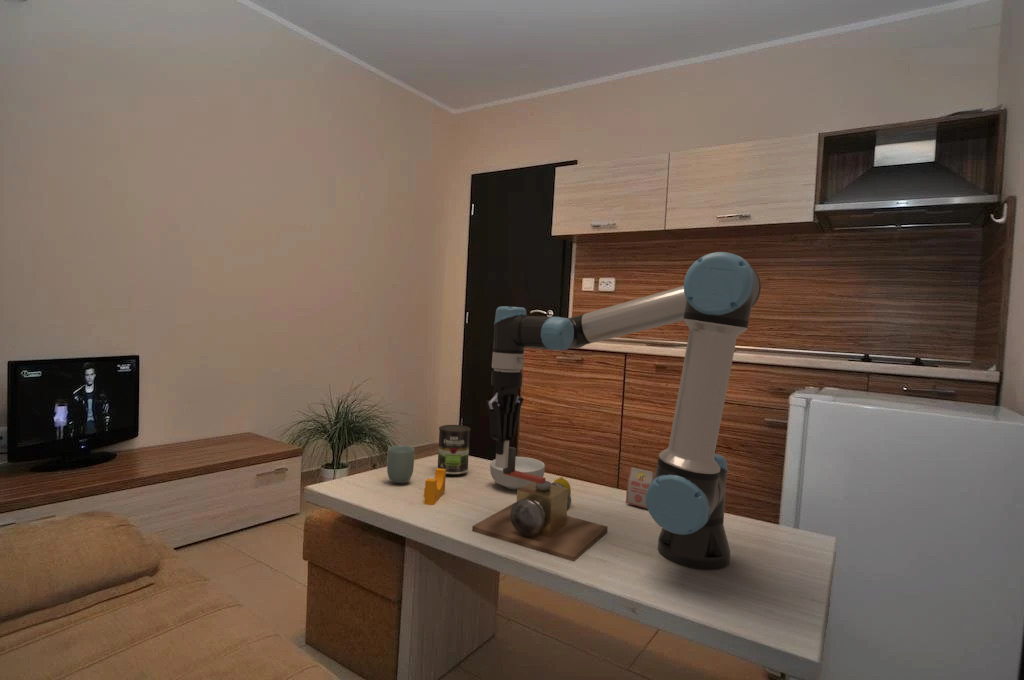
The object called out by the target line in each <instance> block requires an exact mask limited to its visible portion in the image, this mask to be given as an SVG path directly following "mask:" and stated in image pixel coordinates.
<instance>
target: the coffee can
mask: <svg viewBox="0 0 1024 680" xmlns="http://www.w3.org/2000/svg"><path fill="white" fill-rule="evenodd" d="M438 430H439V432H438V433H439V434H438V435H439V436H438V449H437V451H438V453H437V468H441V469H446V475H461V474H465V473H468V471H469V455H470V438H471V437H470V436H471V427H469V426H466V425H461V424H444V425H441V426H439V427H438Z"/></svg>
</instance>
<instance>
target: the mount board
mask: <svg viewBox="0 0 1024 680" xmlns="http://www.w3.org/2000/svg"><path fill="white" fill-rule="evenodd" d="M516 502H517V501H515V502H514V503H512V504H510V505H508V506H506V507H504V508H503V509H501V510H499V511H497V512H495V513H493V514H492V515H490V516H488V517H486V518H484V519H482V520H481V521H479V522H477V523H475V524H473V525H472V527H471V532H474V533H476V532H477V534H480V535H484V536H487V537H490V538H495V539H496V540H500V541H503V542H507V543H510V544H514V545H517V546H521V547H525V548H527V549H529V550H530V549H531V550H534V551H537V552H540V553H541V552H542V553H544V554H548V555H551V556H554V557H558V558H561V559H565V560H568V561H571V562H575V561H576V560H577V559H578V558H579V557H581V556H582V555H583V554H584V553H585V552H587V551H588V550H589V549H590V548H591V547H592V546H594V545H595V544H596V543H597V542H598V541H599V540H601V539H602V538H603V537H604V536H605V535H606V534H607V533H608V528H609V526H607V525H603V524H601V523H600V524H599V523H595V522H591V521H588V520H584V519H581V518H577V517H572V516H569V515H567V518H566V525H565V526H564V527H563V528H562V529H560V530H559V531H558V532H556V533H555V534H554V535H552V536H551V537H550V538H549V537H546V536H542V535H539V534H535V535H533V536H525V535H522V534H520V533H519V532H518V531H517V530H516V529H515V528H514V526H513V524H512V522H511V517H510V513H511V509H512V506H513V505H514V504H515V503H516Z"/></svg>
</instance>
